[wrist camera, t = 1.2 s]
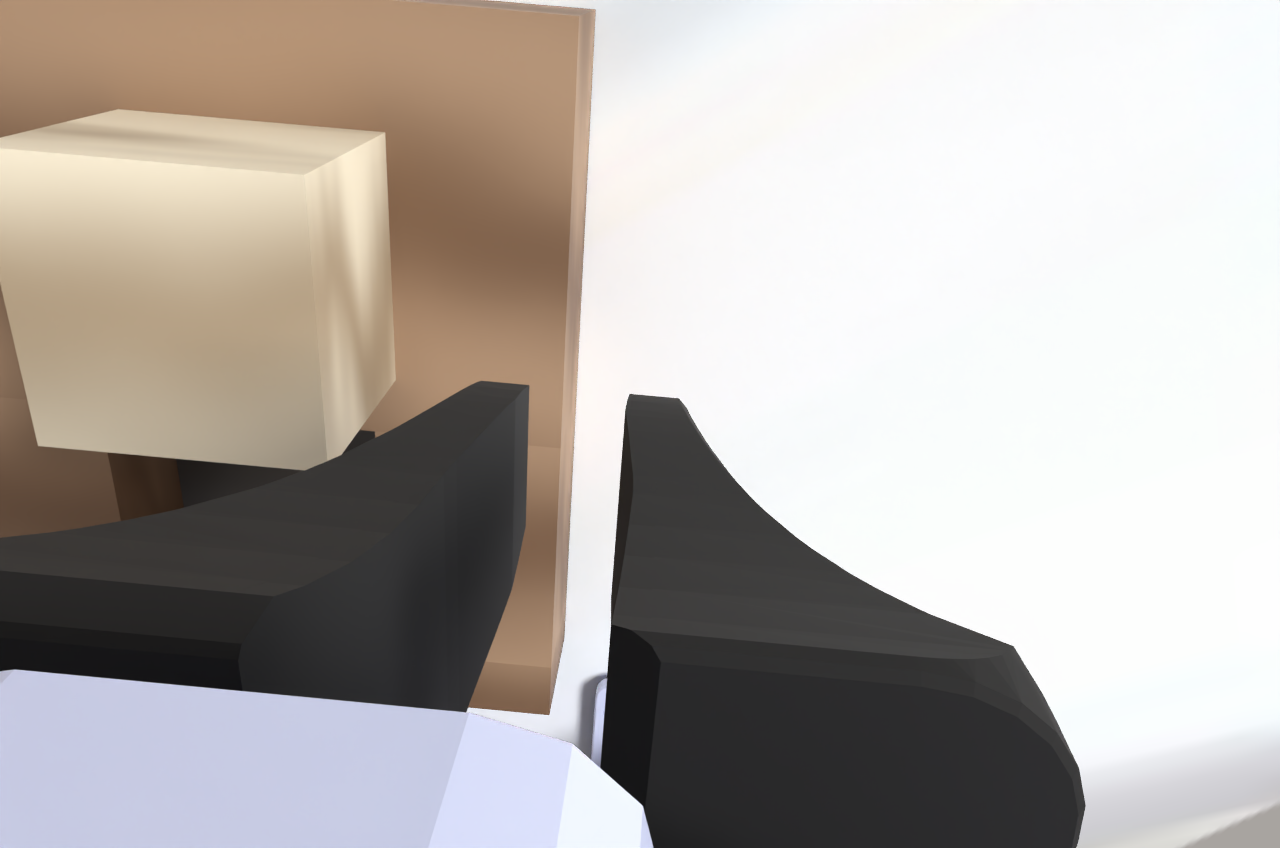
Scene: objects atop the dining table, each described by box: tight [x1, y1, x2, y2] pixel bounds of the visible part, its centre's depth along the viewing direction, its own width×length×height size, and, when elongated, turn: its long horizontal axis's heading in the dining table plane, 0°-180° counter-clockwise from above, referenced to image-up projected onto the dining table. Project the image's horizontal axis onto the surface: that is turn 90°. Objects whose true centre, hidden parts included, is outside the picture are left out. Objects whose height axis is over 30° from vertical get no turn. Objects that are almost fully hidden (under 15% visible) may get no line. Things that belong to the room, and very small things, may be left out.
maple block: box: [0, 109, 396, 470], centre depth 17 cm, size 5×5×4 cm
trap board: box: [0, 0, 595, 715], centre depth 21 cm, size 16×24×3 cm, turn 86°
